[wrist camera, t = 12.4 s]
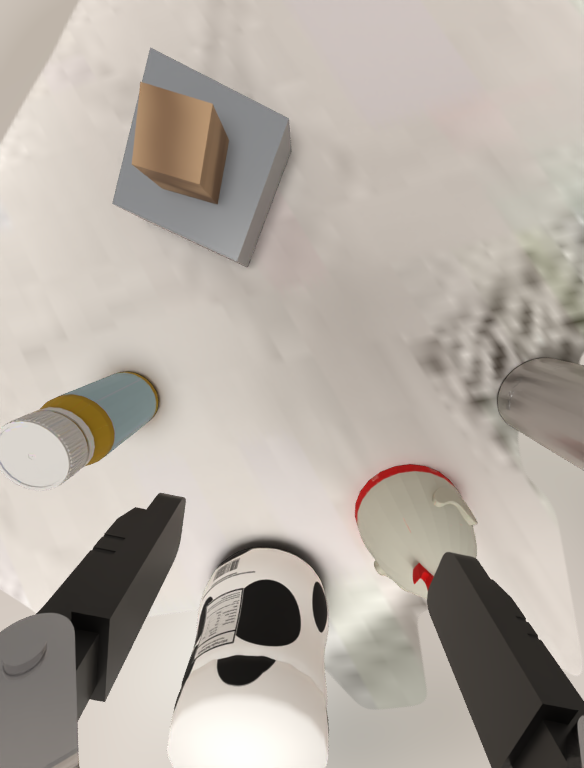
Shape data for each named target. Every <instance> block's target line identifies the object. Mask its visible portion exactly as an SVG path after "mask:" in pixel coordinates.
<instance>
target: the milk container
mask: <svg viewBox="0 0 584 768" xmlns="http://www.w3.org/2000/svg"><path fill="white" fill-rule="evenodd" d="M328 627H329V613H328V605H327V600H326V596H325V592H324V589H323V586H322V583H321V581H320V579H319V577H318V575H317V574H316V573H315V571H314V570H313V569H312V567H311V566H310V565H309V564H308V563H307V562H305V561H304V560H303V559H301V558H300V557H298V556H297V555H295V554H293V553H290V552H287V551H284V550H281V549H277V548H267V547H256V548H251V549H247V550H243V551H240V552H237V553H236V554H234V555H232V556H231V557H229V558H228V559H226V560H225V561H224V562H223V563H222V564H221V565H220V566H219V567H218V568H217V569H216V570H215V572H214V573H213V575H212V577H211V578H210V580H209V582H208V584H207V586H206V588H205V590H204V593H203V596H202V598H201V602H200V606H199V611H198V619H197V634H196V641H195V645H194V648H193V651H192V655H191V657H190V660H189V663H188V666H187V669H186V672H185V675H184V678H183V681H182V686H181V690H180V692H179V695H178V697H177V701H176V704H175V708H174V712H173V716H172V721H171V725H170V732H169V739H168V748H167V755H168V757H169V759H170V762H171V764H172V766H173V768H325V767H326V765H327V761H328V742H329V740H328V739H329V728H328V717H327V689H326V678H325V666H324V653H325V646H326V641H327V635H328Z"/></svg>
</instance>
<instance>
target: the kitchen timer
mask: <svg viewBox="0 0 584 768" xmlns="http://www.w3.org/2000/svg"><path fill="white" fill-rule="evenodd" d="M355 518H356V522H357V526H358V529H359V532H360V535H361V538H362V540H363V542H364V544H365V546H366V548H367V549H368V550H369V552H370V553H371V555H372V556H373V557H374V559H375V560H376V561H375V562H374V567H375V569H376V571H377V572H378V574H380V575H384V576H387V577H389V578H390V579H392V580H393V581H394V582H395V583H396V584H397V585H398V586H399V587H400V588H401V589H403V590H404V591H407V592H410V593H412V594H414V595H417V596H420V597H422V598H425V599H427V594H428V589H429V586H430V584H431V582H432V580H433V577H434V575H435V573H436V570H437V568H438V566H439V563H440V561H441V559H442V557H443V555H444V554H445V553H446V552H452V553H457V554H462V555H467V556H472V557H474V558H476V556H477V545H476V539H475V534H474V529H473V525H475V524H477V521H476V519H475V517H474V515H473V514H472V512H471V510H470V509H469V507H468V506H467V504H466V503H465V502H464V500H463V499H462V497H461V496H460V494H459V492H458V491H457V489H456V488H455V486H454V485H453V484H452V483H451V481H450V480H449V479H447V478H446V477H445V476H444V475H442V474H441V473H440V472H439V471H436V470H434V469H431V468H429V467H426V466H420V465H412V464H409V465H402V466H395V467H392V468H390V469H387V470H385V471H382V472H380V473H379V474H377V475H376V476H375V477H373V478H372V479H370V480H369V481H368V482H367V484H366V485H365V486H364V487H363V489H362V490H361V491H360V494H359V496H358V499H357V502H356V506H355Z"/></svg>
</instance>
